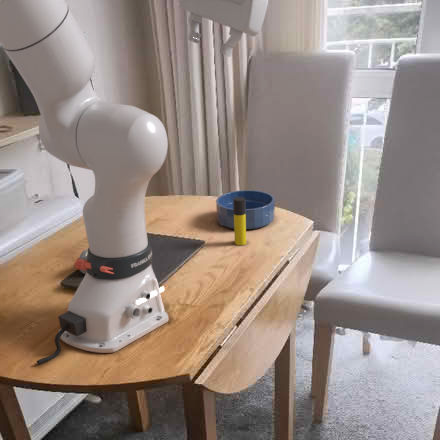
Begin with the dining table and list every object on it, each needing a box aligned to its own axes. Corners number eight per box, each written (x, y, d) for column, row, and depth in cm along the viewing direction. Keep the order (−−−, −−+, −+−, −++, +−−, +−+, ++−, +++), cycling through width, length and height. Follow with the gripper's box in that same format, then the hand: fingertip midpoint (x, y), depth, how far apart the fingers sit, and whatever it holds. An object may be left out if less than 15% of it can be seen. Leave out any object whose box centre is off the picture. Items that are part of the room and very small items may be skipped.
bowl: (258, 234, 148) (257, 213, 145) (206, 225, 155) (205, 205, 151) (283, 214, 159) (284, 194, 155) (234, 207, 165) (234, 187, 162)
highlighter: (242, 246, 143) (241, 201, 136) (232, 244, 144) (230, 199, 138) (248, 241, 145) (247, 197, 138) (238, 240, 146) (236, 196, 140)
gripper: (183, -51, 112) (164, 30, 119) (259, -28, 102) (232, 59, 109) (206, -39, 116) (186, 38, 123) (280, -16, 106) (254, 66, 113)
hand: (208, 48), depth 116 cm, fingers open, 8 cm apart
